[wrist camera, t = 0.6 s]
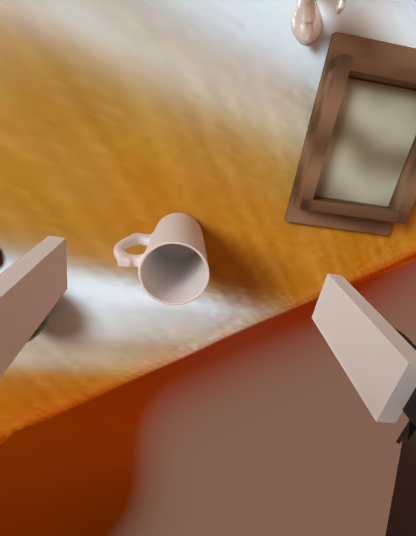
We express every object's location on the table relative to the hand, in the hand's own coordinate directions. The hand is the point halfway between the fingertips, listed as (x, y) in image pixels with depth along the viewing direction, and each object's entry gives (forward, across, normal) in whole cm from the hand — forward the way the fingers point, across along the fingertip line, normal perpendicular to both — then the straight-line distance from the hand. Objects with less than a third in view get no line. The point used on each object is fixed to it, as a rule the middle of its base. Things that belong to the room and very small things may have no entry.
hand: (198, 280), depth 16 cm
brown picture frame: (+25, +19, +8) cm, 32 cm away
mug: (+25, -3, -6) cm, 26 cm away
